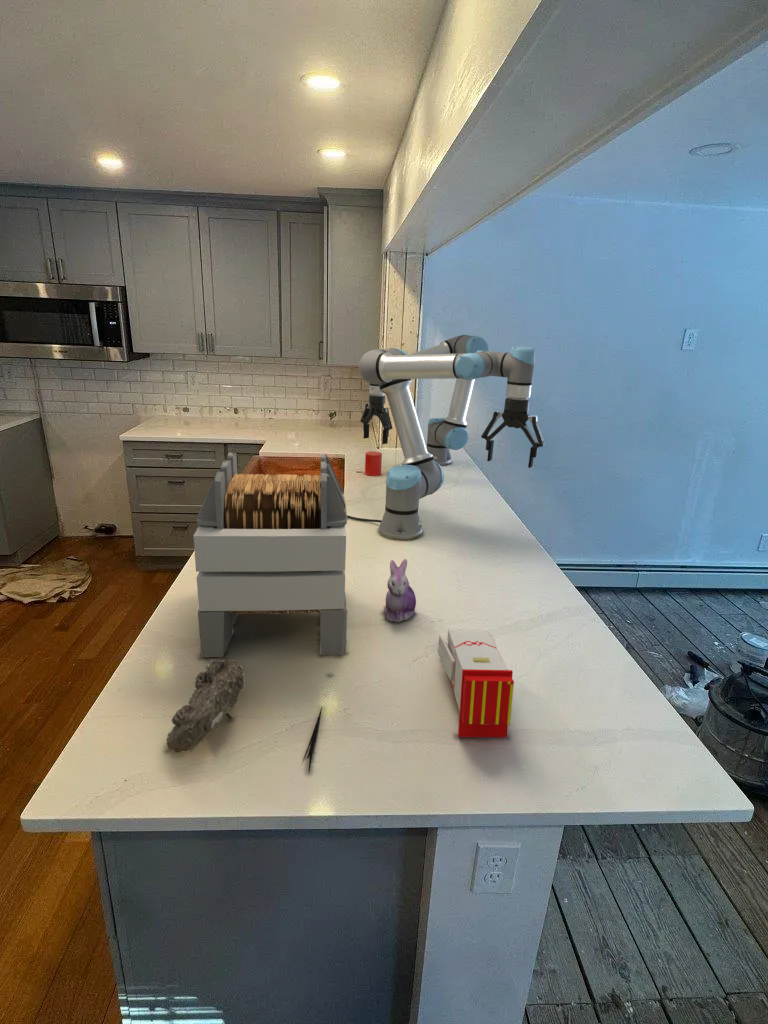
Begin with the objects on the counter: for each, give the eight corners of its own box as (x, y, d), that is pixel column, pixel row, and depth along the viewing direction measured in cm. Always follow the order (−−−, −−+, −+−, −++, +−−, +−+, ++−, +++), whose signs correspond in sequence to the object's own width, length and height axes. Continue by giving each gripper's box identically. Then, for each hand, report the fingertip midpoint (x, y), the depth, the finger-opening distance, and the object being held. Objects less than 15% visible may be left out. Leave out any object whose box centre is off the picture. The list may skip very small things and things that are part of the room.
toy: (488, 613, 130) (523, 677, 101) (484, 667, 133) (517, 744, 104) (435, 612, 130) (455, 676, 101) (432, 666, 133) (451, 743, 103)
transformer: (222, 587, 156) (213, 443, 143) (341, 586, 160) (343, 445, 146) (198, 659, 125) (184, 483, 111) (346, 655, 129) (350, 484, 115)
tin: (381, 476, 267) (382, 455, 264) (364, 475, 267) (365, 455, 263) (380, 471, 274) (381, 451, 271) (364, 471, 274) (365, 451, 271)
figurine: (392, 627, 141) (395, 572, 136) (374, 608, 149) (376, 556, 144) (425, 619, 145) (429, 566, 140) (405, 601, 154) (408, 550, 149)
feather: (331, 679, 122) (336, 673, 122) (307, 777, 96) (313, 769, 95) (324, 675, 122) (329, 669, 121) (298, 772, 95) (304, 764, 95)
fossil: (192, 660, 117) (244, 628, 112) (224, 691, 120) (276, 661, 115) (142, 746, 98) (202, 712, 93) (182, 779, 101) (242, 748, 96)
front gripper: (560, 401, 176) (550, 467, 183) (483, 392, 187) (476, 455, 194) (555, 404, 170) (545, 472, 177) (475, 395, 180) (469, 459, 188)
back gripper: (354, 391, 264) (352, 436, 271) (389, 399, 246) (386, 447, 254) (366, 390, 269) (364, 435, 276) (401, 398, 251) (399, 445, 258)
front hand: (509, 463), depth 185 cm, fingers open, 13 cm apart
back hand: (375, 441), depth 265 cm, fingers open, 13 cm apart
